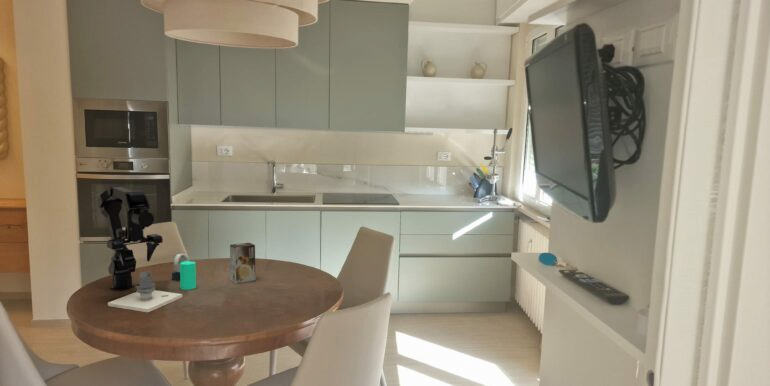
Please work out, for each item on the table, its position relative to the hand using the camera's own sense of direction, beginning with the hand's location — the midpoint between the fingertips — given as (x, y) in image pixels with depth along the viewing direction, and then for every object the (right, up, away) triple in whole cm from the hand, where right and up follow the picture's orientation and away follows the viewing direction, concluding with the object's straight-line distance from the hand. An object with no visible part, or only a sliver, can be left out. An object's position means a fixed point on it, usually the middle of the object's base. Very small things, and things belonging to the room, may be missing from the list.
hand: (136, 263), depth 194 cm
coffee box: (+34, -11, +25) cm, 44 cm away
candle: (+15, -12, +14) cm, 24 cm away
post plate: (+6, -14, -5) cm, 16 cm away
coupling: (+6, -10, -5) cm, 12 cm away
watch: (+7, -11, +25) cm, 28 cm away
